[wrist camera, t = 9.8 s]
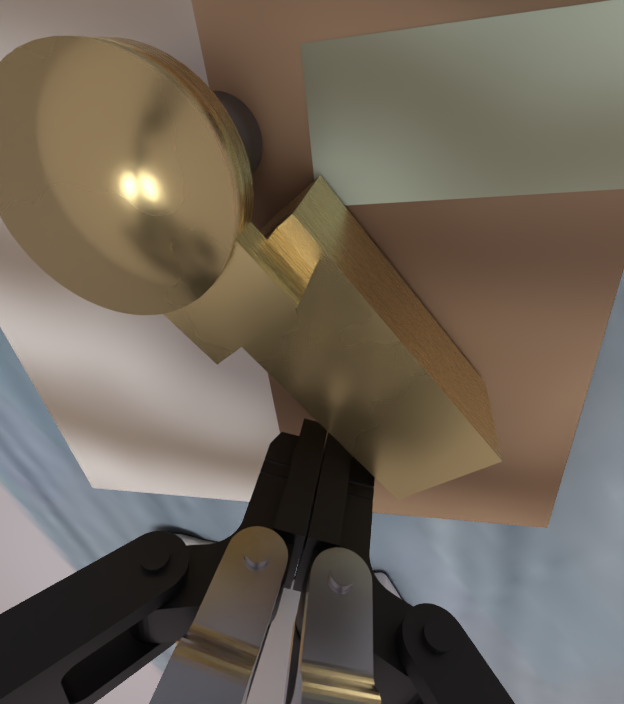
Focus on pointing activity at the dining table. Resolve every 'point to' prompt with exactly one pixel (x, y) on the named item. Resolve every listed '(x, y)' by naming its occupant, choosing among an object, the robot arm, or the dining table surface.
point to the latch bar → (228, 253)
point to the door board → (366, 227)
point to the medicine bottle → (283, 649)
